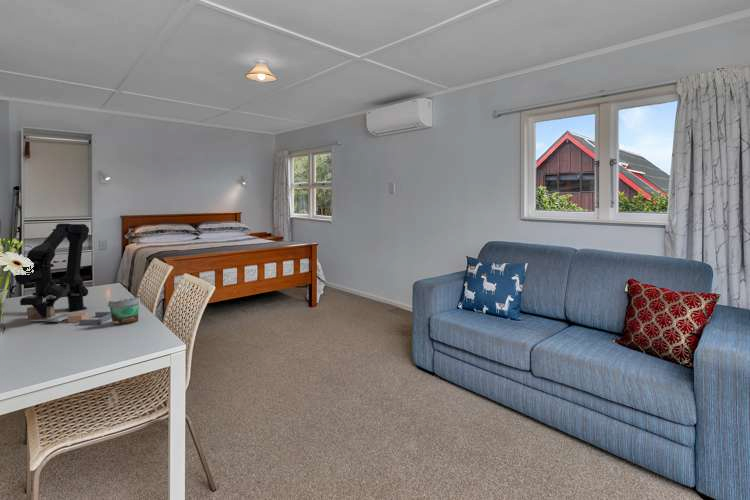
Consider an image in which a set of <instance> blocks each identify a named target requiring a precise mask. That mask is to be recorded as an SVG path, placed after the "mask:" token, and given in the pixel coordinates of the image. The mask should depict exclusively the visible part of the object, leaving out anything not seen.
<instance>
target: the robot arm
mask: <svg viewBox="0 0 750 500" xmlns="http://www.w3.org/2000/svg"><path fill="white" fill-rule="evenodd" d="M89 234H90V228H89V226H87V225H86V224H85V223H58V224H56V225H55V228H54V230H52V232H51V233H50V234H49V235H48V236H47V238H46V239H45V240H44V241H43V242H42V243H39V244H38V245H36V246H34V247H33V248H32V249H30V250H29V251H28V253H27V256H26V258H29V259H30V260H31V261H32V262H33V263H34V267H33V268H32V269H33V270H34V272H33V273H32V272H31V271H32V269H31V266H30V269H31V270H30V271H26V270H27V268H28V269H29V267H23V266H21V267H22V268H23V270H24V271H26V272H31V273H32V274H31V273H26V274H30V275H16V274H15V275H14V279H15V281H16V283H17V284H19V285H22V286H23V285H29V284H31V286H32V287H33V286H34V292H33V293H32V295H27V296H24V297H21V298H20V300H19V305H20V306H31V307H34V308H35V309H36V310H37V311H38V312H39V314H40V315H41V316H42V317H43V318H45V317H46V306H54V305H55V303H56V302H57V301H58V300H60V299H61V298H67V304H68V307H66V308H65V310H66V311H68V312H77V311H81V310H82V311H83V310H87V309H88V307H87V306H85V304H84V297H87V296H88V295H89V289H88V288H87V286H85V284H84V280H83V278H82V276H81V275H80V273H81V264H82V263H81V262H82V253H83V252H82V251H83V244H84V243H85V241H87V239H88V236H89ZM65 239H66V240H67V241H68V243H69V244H68V251H67V252H68V254H67V260H66V261H67V262H66V270H65V271H66V272H65V275H64V276H63V277H62V276H61V277H60V278H59V284H56V281H55V280H53V277H52V276H53V275H52V268H53V267H55V265H54V264H53V263H52V261H53V260H54V257H55V256H56V250H57V248H58V247H59V246H60V244H62V242H63V241H64V240H65ZM54 307H55V306H54Z"/></svg>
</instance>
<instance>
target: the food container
mask: <svg viewBox="0 0 750 500" xmlns="http://www.w3.org/2000/svg"><path fill="white" fill-rule="evenodd" d="M140 303H141V299H140V296H139V295H136V297H134V298H133V297H132V298H125V299H120V300H118V301H110V300H109V301H108V302H107V307H109V310H110V311H109V312H111V317H112V319H111V320H112V325H113V326H127V325H132V324H135V322H136V323H137V322H139V311H140V310H139V309H140V308H139V307H140Z"/></svg>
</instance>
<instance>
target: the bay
mask: <svg viewBox="0 0 750 500" xmlns="http://www.w3.org/2000/svg"><path fill="white" fill-rule="evenodd" d="M94 315H95V318H93V319H92V318H88V319H80V320H79V322H78V325H79V326H83V325H84V326H90V325H92V326H94V325H95V326H97V325H99V326H100V325H102V324H103V323H106V322H108V321H109V320H112V317H111V311H95V313H94Z"/></svg>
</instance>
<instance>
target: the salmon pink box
mask: <svg viewBox="0 0 750 500" xmlns="http://www.w3.org/2000/svg"><path fill="white" fill-rule="evenodd" d="M70 314H71V315H69V316H68V318H67V321H68V322H67V323H69V324H72V323H74V324H75V323H77V324H78V323H79V320H80V319H89V316H88V314H89V312H88V311H87V312H73V313H70Z"/></svg>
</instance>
